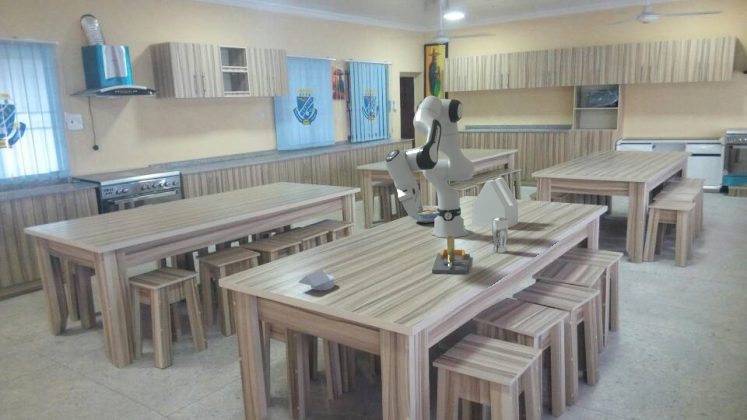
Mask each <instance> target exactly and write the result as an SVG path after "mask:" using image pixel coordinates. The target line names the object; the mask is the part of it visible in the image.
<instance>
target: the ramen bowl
mask: <svg viewBox="0 0 747 420" xmlns="http://www.w3.org/2000/svg"><path fill="white" fill-rule="evenodd" d="M422 206H423V211H421V212H420V211H418V214H419V215H420V216H421V221H419V222H420V223H421V224H432V223H435V218H436V217H437V216H438V215H437V208H438V205H422ZM411 219H413V220H415V221H417V219H416V218H415V217H414V216H412V217H411Z"/></svg>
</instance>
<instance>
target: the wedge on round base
mask: <svg viewBox="0 0 747 420" xmlns="http://www.w3.org/2000/svg"><path fill="white" fill-rule="evenodd" d="M298 283H299V284H304V285H307V286H310V288H311V290H313V289H314V290H313V291H328V290H331V289H333V288H335V277H334V275H331V274H327V273H326V272H324V271H323V270H322V269H319V270H317V271H315V272H313V273H310V274H307V275H305V276H304V277H302V278H301V279H300V280H299V281H298Z"/></svg>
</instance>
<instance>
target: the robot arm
mask: <svg viewBox="0 0 747 420" xmlns="http://www.w3.org/2000/svg"><path fill="white" fill-rule="evenodd" d="M415 111H416V112H415V115H414V117H413V121H412V123H413V128H414V129H415V131H417V132H418V133H419V134H421V135H422V136H425V137H426V136H427V137H426V141H425V143H424V144H423V145H420V146H418V147H414V148H409V149H405V150H400V149H394V150H392V151H390V152H388V153H387V155H386V156H385V157H384V163H385V167H386V170H387V172H388V174H389V176H390V178H391V179H392V180H393V184H394V186H395V188H396V193H397V196H398V200H399V202H401V204H402V206H403V208H404V209H405V211H406V213H407V214H408V216H409V217H411V218H412V216H414V217H415V218H416V219H417V220H416V221H417V222H419V221H421V216H420V215H419V214H418V211H420V212H421V211H423V206H424V205H423V204H422V197H423V195H422V192H421V189H420V188H419V187H420V186H419V184H418V182H417V180H416V177H415V175H413V173H414V172H420V171H422V174H423V177H424V178H425V179H426V180H427V181H429V183H431V185H432V186H433V187H434V189H435V191H436V197H437V206H438V208H437V215H438V216H437V217H436V218H435V221H434V230H433V231H431V233H430V235H432V236H436V237H437V238H438V237H439V238H446V239H447V237H448V236H453V237H454V238H459V237H463V236H468V235H469V232H468V231H467V229H466V228H465V220H464V217H463V216H462V215H461V214H462V208H461V202H460V201H461V198H460V196H461V195H460V192H459V190H457V189H456V188H455V187H452V186H451V185H450V184H448V182H462V181H467V180H471V179H472V178H473V176H474V174H475V165H474V163H473V162H472V161H471V160H470V159H469V158H467V157H466V156H465V155H464V153H463V152H462V150H461V148H460V143H459V142H460V141H459V127H458V122H459V121H460V120H461V119H462V118H463V112H464V109H463V104H462V102H461V101H460V100H458V99H454V98H453V99H448V98H439V97H438V96H435V95H427V96H426V97H425V98H424V99H423V100H421V101H419V103H418V104H417V105H416V110H415ZM439 152H440V153H442V154H443V155H445V156H446V157H447V158H443V159H442V158H439Z"/></svg>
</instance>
